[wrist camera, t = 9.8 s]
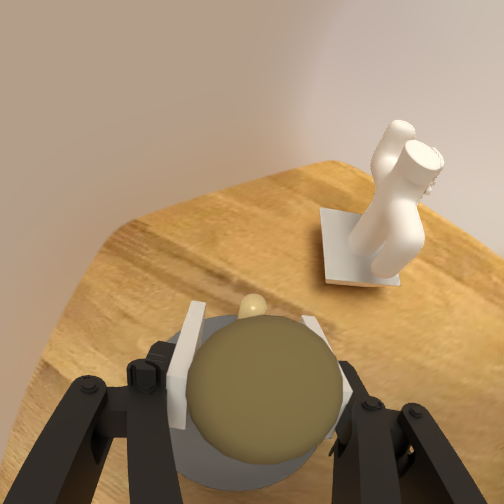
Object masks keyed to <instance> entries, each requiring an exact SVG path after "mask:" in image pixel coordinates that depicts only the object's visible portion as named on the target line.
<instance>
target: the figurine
mask: <svg viewBox="0 0 504 504" xmlns="http://www.w3.org/2000/svg"><path fill="white" fill-rule="evenodd" d="M415 134H416V131H415V129H414V127H413V126H412V125H411V124H409V123H408V122H406V121H403V120H394V121H392V122H391V123H390V124H389V126H388V128H387V129H386V131H385V133H384V135H383V137H382V139H381V141H380V143H379V145H378V146H377V148H376V150H375V152H374V154H373V157H372V160H371V172H372V175H373V179H374V183H375V186H376V190H375V194H374V197H373V200H372V202H371V203H370V205H369V206H368V208H367V209H366V211H365V212H364V214H363V215H362V214H357V213H351V212H345V211H339V210H333V209H327V208H321V207H320V217H321V227H322V238H323V251H324V264H325V279H326V283H327V284H338V285H349V286H360V287H384V286H401V284H400V279H399V272H400V271H401V270H402V269H403V268H404V267H405V266H406V265H407V264H408V263H410V262H411V261H412V260H413V259H414V258H415V257H416V256H417V254H418V253H419V252H420V251H421V249H422V247H423V245H424V241H425V234H424V230H423V227H422V223H421V220H420V217H419V213H418V210H417V205H418V203H419V200H420V199H421V198H422V197H423V194H425V195H429V194H430V193H431V190H432V186H431V185H434V184H435V183H434V180H435V179H436V178H437V176H438V175H439V173H440V172H441V171H442V169H443V167H444V160H443V157H442V156H441V154H440V153H439V152H438V151H437V150H436V148H434V147H432V148H430V147H428V146H427V145H425V144H424V143H422V142H420V141H417V140H414V138H415Z"/></svg>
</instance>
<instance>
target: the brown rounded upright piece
mask: <svg viewBox="0 0 504 504" xmlns="http://www.w3.org/2000/svg"><path fill="white" fill-rule="evenodd" d="M185 396H186V400H187V405H188V409H189V413H190V417H191V420H192V421H193V423H194V424H195V426H196V428H197V429H198V431H199V432H200V434H201V435H202V437H203V438H204V440H205V441H206V442H208V443H209V444H210V445H211V446H213V447H214V448H215V449H217V450H218V451H219V452H221V453H222V454H223V455H225V456H227V457H229V458H232V459H235V460H238V461H241V462H244V463H247V464H254V465H276V464H279V463H282V462H286V461H289V460H292V459H295V458H298V457H301V456H303V455H304V454H306V453H307V452H309V451H310V450H311V449H313V448H314V447H316V446H317V445H318V444H320V443H321V442H322V441H323V440H324V438H325V437H326V436H327V434H328V433H329V432H330V430H331V429H332V427H333V426H334V425H335V423H336V421H337V418H338V415H339V412H340V409H341V406H342V402H343V377H342V374H341V371H340V368H339V365H338V362H337V359H336V356H335V355H334V354H333V352H332V351H331V349H330V348H329V346H328V345H327V344H326V342H325V341H324V339H323V338H321V337H320V336H319V335H318V334H316V333H315V332H314V331H312V330H311V329H310V328H309V327H307V326H306V325H304V324H302V323H299V322H296V321H294V320H291V319H289V318H286V317H282V316H271V315H257V316H252V317H247V318H242V319H238V320H236V321H234V322H232V323H230V324H228V325H226V326H224V327H223V328H221V329H219V330H217V331H215V332H214V333H213V334H212V335H211V336H210V337H209V338H208V339H207V340H206V341H205V342H204V343H203V344H202V345H201V346H200V348H199V349H198V350H197V352H196V354H195V357H194V359H193V361H192V363H191V365H190V367H189V369H188V374H187V383H186V393H185Z"/></svg>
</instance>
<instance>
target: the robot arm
mask: <svg viewBox="0 0 504 504" xmlns="http://www.w3.org/2000/svg"><path fill="white" fill-rule="evenodd" d="M205 307H206V303H205V302H199V301H191V304H190V307H189V310H188V313H187V316H186V319H185V321H184V324H183V327H182V330H181V333H180V336H179V339H178V342H177V344H174V343H168V342H163V341H158V342H156V343H155V344H153V345H152V346H151V348H150V350H149V353H148V355H147V357H146V359H137V360H134V361H132V362H130V363H129V364H128V366H127V383H128V385H127V386H123V387H107V386H106V384H105V382H104V381H103V380H102V379H101V378H99V377H96V376H91V375H86V376H81V377H78V378H76V379H75V380H74V381H73V383H72V384H71V386H70V387H69V389H68V390H67V392H66V393H65V395H64V396H63V398H62V400H61V401H60V403H59V404H58V406H57V408H56V409H55V411H54V412H53V414H52V416H51V417H50V419H49V421H48V422H47V424H46V426H45V427H44V429H43V431H42V432H41V434H40V436H39V437H38V439H37V441H36V442H35V444H34V446H33V448H32V449H31V451H30V453H29V455H28V457H27V458H26V460H25V462H24V464H23V466H22V467H21V469H20V471H19V473H18V475H17V477H16V479H15V481H14V483H13V484H12V486H11V488H10V490H9V492H8V494H7V496H6V498H5V500H4V502H3V504H91V502H92V499H93V496H94V493H95V490H96V487H97V484H98V481H99V478H100V475H101V472H102V469H103V466H104V463H105V460H106V457H107V455H108V452H109V449H110V446H111V444H112V441H113V438H114V437H115V438H127V458H128V479H129V494H130V504H183V501H182V496H181V491H180V487H179V482H178V477H177V471H176V466H175V460H174V455H173V449H172V443H171V436H170V430H169V427H171V428H177V429H183V430H185V429H186V423H187V417H188V412H189V409H188V405H187V400H186V396H185V393H186V383H187V374H188V369H189V367H190V365H191V363H192V361H193V359H194V357H195V354H196V352H197V350H198V349H199V348H200V346H201V342H202V333H203V324H204V316H205ZM300 323H302V324H304V325H306V326H307V327H309V328H310V329H311V330H312V331H314V332H315V333H316V334H318V335H319V336H320V337H321V338H323V339H324V341H325V342H326V344H327V345H328V346H329V348H330V349H331V347H330V345H329V343H328V341H327V339H326V337H325V335H324V333H323V331H322V330H321V328H320V326H319V324H318V322H317V320H316V318H315V316H305V315H302V316H301V320H300ZM331 351H332V349H331ZM332 352H333V351H332ZM333 354H334V353H333ZM337 362H338V365H339V368H340V371H341V374H342V377H343V402H342V406H341V409H340V412H339V415H338V418H337V421H336V423H335V425H334V426H333V427H332V429H331V430H330V432H329V433H328V434H327V436H326V437H325V438H324V439H331V437H332V435H333V433H334V431H335V430H336V433H337V436H338V437H337V439H336V441H335V443H334V445H333V447H332V449H331V451H330V453H329V456H331V455H332V453H333V452H334V468H333V488H332V504H487V502H486V500H485V499H484V497H483V495H482V494H481V492H480V490H479V489H478V487H477V485H476V484H475V482H474V480H473V479H472V477H471V476H470V474H469V472H468V471H467V469H466V468H465V466H464V464H463V463H462V461H461V460H460V458H459V457H458V455H457V454H456V452H455V450H454V449H453V447H452V446H451V444H450V443H449V441H448V440H447V438H446V437H445V435H444V434H443V432H442V431H441V429H440V428H439V426H438V425H437V423H436V422H435V420H434V419H433V417H432V416H431V415H430V413H429V412H428V410H427V409H426V408H425V407H423V406H421V405H420V404H416V403H408V404H405V405H404V406H403V408H402V409H401V411H397V410H390V409H386V408H385V406H384V404H383V403H382V402H381V401H380V400H379V399H377V398H375V397H372V396H369V394H368V392H367V390H366V389H365V387H364V385H363V383H362V381H361V380H360V378H359V376H358V375H357V372H356V371H355V369H354V367H353V366H352V365H350V364H349V363H348V362H347V361H337ZM411 445H412V447H413V449H414V452H413V453H411V452H410V450H409V448H410V447H411Z"/></svg>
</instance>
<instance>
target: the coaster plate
mask: <svg viewBox="0 0 504 504" xmlns="http://www.w3.org/2000/svg"><path fill="white" fill-rule="evenodd" d="M266 308H267V304H266V301H265V299H264V298H263V297H262V296H260V295H258V294H249V295H247V296H245V297H244V298H243V300H242V303H241V306H240V309H239V313H238V315H226V316H217V317H212V318H207V319H204V324H203V333H202V342H201V345H202V344H203V343H204V342H205V341H206V340H207V339H208V338H209V337H210V336H211V335H212V334H213V333H214V332H215V331H217V330H219V329H221V328H223V327H224V326H226V325H228V324H230V323H232V322H234V321H236V320H238V319H242V318H247V317H252V316H257V315H264V313H265V311H266ZM180 333H181V331H179V332H178V333H176V334H175V335H174V336H173V337H172V338H170V339H169V340H168V341H167V342H168V343H174V344H177V342H178V339H179V336H180ZM169 430H170V436H171V443H172V449H173V455H174V460H175V466H176V471H177V472H179V473H180V474H181V475H183V476H184V477H186V478H188V479H190V480H192V481H194V482H196V483H198V484H201V485H203V486H206V487H210V488H214V489H218V490H225V491H248V490H255V489H260V488H263V487H266V486H270V485H272V484H274V483H277V482H279V481H281V480H283V479H284V478H286V477H288V476H289V475H291V474H292V473H294V472H295V471H296V470H297V469H299V468H300V467H301V466H302V465H303V464H304V463H305V462H306V461H307V460H308V459H309V457H310V456H311V455H312V453H313V452H314V450H315V449H316V447H317V446H316V447H314V448H313V449H311V450H310V451H309V452H307V453H306V454H304V455H303V456H301V457H298V458H295V459H292V460H289V461H286V462H282V463H279V464H276V465H254V464H247V463H244V462H241V461H238V460H235V459H232V458H229V457H227V456H225V455H223V454H222V453H221V452H219V451H218V450H217V449H215V448H214V447H213V446H211V445H210V444H209V443H208V442H206V441H205V440H204V438H203V437H202V435H201V434H200V432H199V431H198V429H197V428H196V426H195V424H194V423H193V421H192V420H191V417H190V413H189V412H188V417H187V423H186V429H185V430H183V429H177V428H171V427H169Z"/></svg>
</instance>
